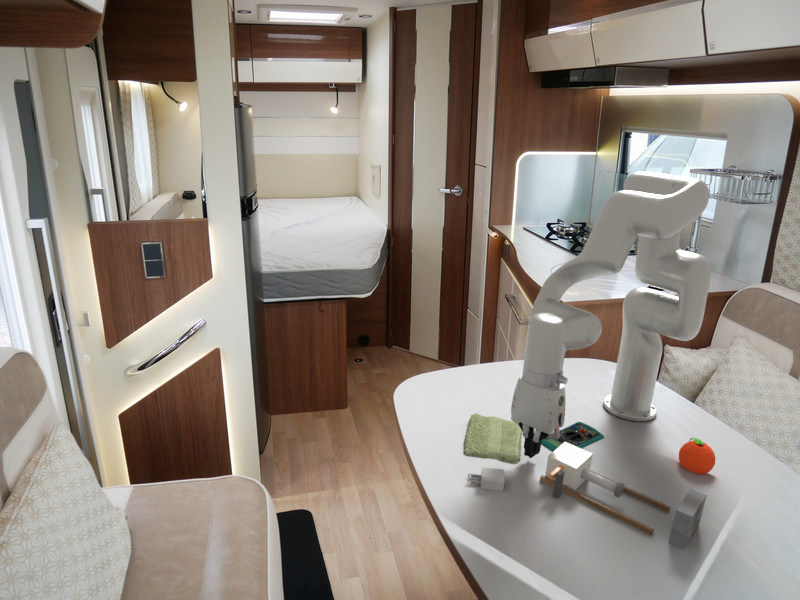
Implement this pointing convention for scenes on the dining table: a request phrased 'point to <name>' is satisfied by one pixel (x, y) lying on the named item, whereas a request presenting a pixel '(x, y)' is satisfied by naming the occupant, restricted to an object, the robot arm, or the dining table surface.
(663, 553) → the dining table surface
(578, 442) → the digital multimeter
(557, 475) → the dark grey block
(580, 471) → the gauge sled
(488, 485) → the usb wall charger
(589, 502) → the wooden rail slider
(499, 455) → the washcloth
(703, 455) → the clementine
